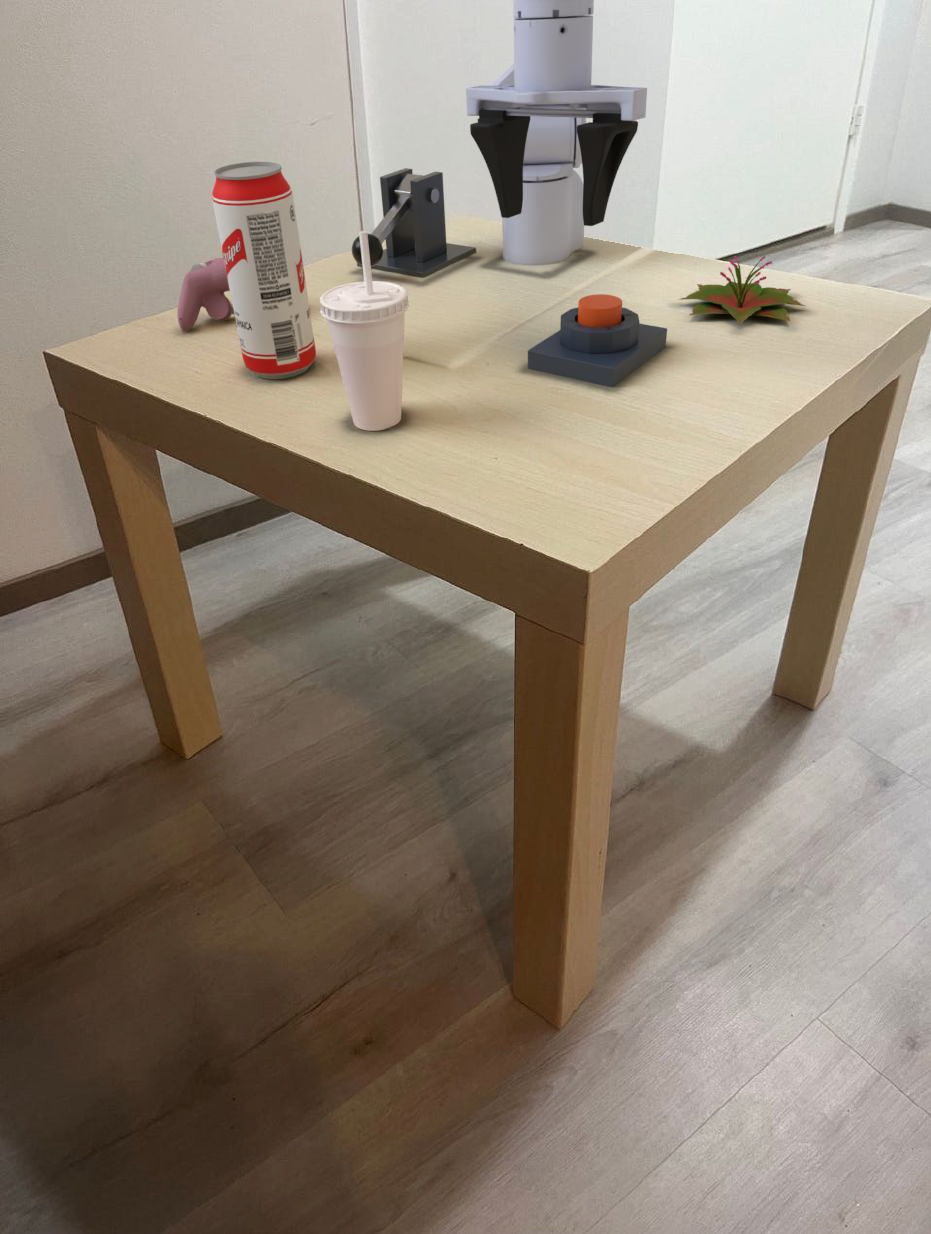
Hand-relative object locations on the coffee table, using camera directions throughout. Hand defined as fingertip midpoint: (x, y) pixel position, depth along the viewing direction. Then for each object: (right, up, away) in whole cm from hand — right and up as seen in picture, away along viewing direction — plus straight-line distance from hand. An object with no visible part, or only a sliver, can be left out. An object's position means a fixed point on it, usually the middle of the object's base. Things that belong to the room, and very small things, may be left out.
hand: (551, 219), depth 75 cm
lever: (-14, +9, +24) cm, 29 cm away
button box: (+5, -10, +6) cm, 12 cm away
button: (+4, -7, +4) cm, 9 cm away
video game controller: (-29, -3, +17) cm, 34 cm away
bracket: (-12, +7, +29) cm, 32 cm away
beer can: (-23, -10, +7) cm, 26 cm away
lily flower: (+19, -3, +14) cm, 24 cm away
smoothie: (-14, -17, -2) cm, 22 cm away
